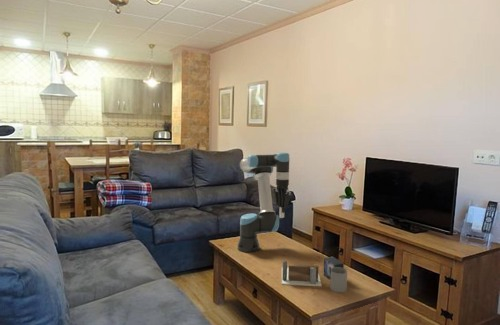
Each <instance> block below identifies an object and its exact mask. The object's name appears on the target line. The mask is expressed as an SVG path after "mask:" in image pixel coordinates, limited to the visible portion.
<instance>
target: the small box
mask: <svg viewBox="0 0 500 325" xmlns="http://www.w3.org/2000/svg"><path fill="white" fill-rule="evenodd" d="M344 266H345V265H344V262H343V261H341V260H339V259H337V258H336V257H335V256H329V257H323V276H324V277H325V278H327V279H328V280H330V281H331V268H333V267H341V268H344ZM344 269H345V268H344Z"/></svg>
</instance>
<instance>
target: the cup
mask: <svg viewBox="0 0 500 325" xmlns="http://www.w3.org/2000/svg"><path fill="white" fill-rule="evenodd" d="M347 284H348V270H347V269H346V268H341V267H333V268H331V280H330V283H329V287H330V289H331V291H333V292H335V293H344V292H347V290H348V289H347V288H348V287H347Z"/></svg>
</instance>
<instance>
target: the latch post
mask: <svg viewBox="0 0 500 325" xmlns="http://www.w3.org/2000/svg"><path fill="white" fill-rule="evenodd" d="M310 284H316V267H310Z"/></svg>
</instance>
